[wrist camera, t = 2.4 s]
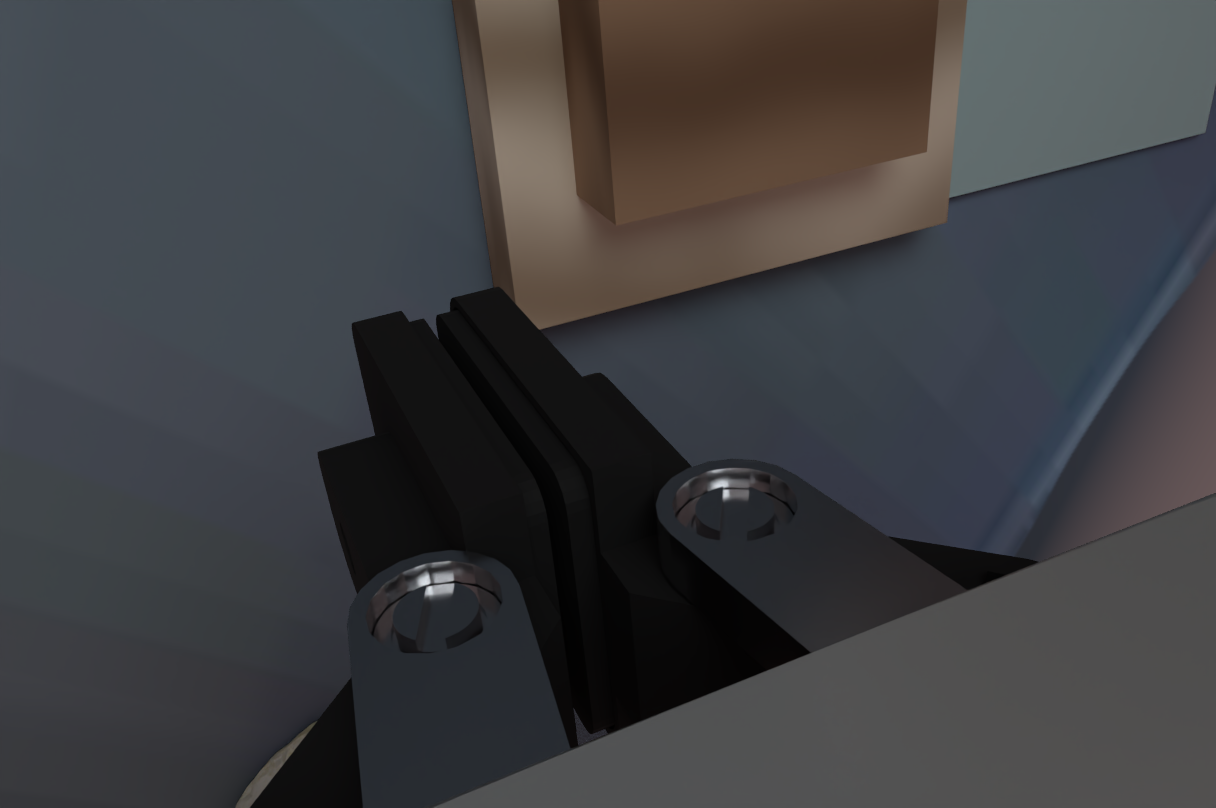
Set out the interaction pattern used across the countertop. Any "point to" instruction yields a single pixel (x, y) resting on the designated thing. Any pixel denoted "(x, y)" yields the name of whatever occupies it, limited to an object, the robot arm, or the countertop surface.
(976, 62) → the teal mat
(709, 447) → the countertop surface
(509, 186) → the ash deck
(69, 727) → the countertop surface
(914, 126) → the walnut tile
